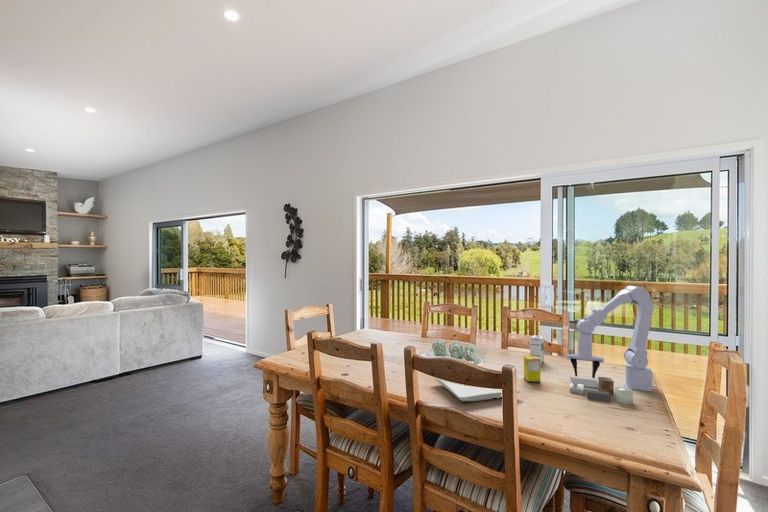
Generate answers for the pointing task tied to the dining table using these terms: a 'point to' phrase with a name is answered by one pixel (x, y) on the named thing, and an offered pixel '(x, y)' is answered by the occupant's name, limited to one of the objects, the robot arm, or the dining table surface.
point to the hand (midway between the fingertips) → (584, 376)
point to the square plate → (470, 392)
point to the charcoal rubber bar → (598, 395)
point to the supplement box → (532, 369)
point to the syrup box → (537, 347)
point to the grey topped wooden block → (576, 388)
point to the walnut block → (606, 385)
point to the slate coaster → (585, 382)
